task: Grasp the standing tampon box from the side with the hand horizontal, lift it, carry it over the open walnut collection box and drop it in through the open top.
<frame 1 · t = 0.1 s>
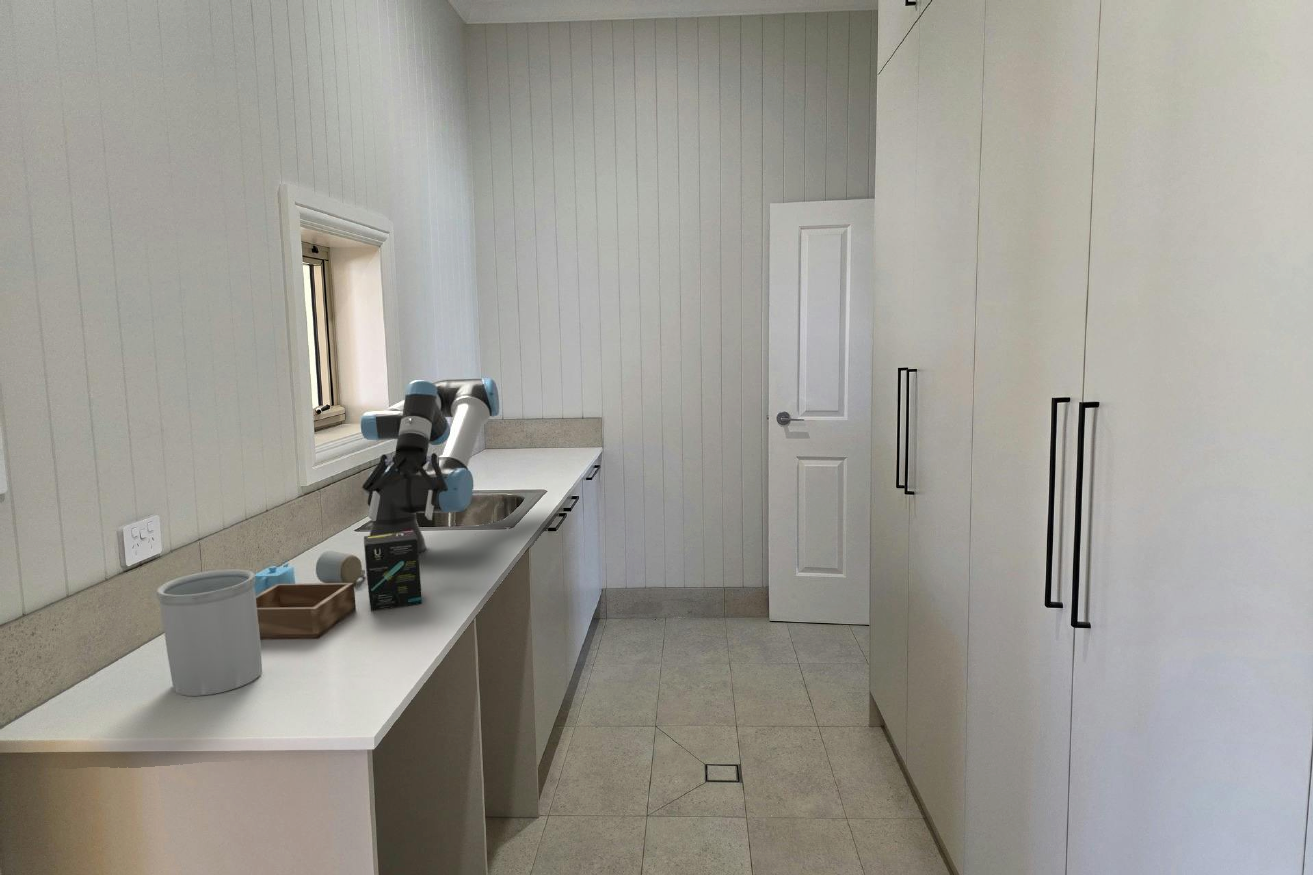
hand: (399, 518, 200), 15 cm above the table, tool tilted 35°, fingers open, 13 cm apart
ceramic mug: (344, 582, 204), on the table
teapot: (277, 598, 193), on the table
tampon box: (395, 602, 187), on the table
collection box: (297, 624, 174), on the table
utensil holder: (217, 681, 146), on the table
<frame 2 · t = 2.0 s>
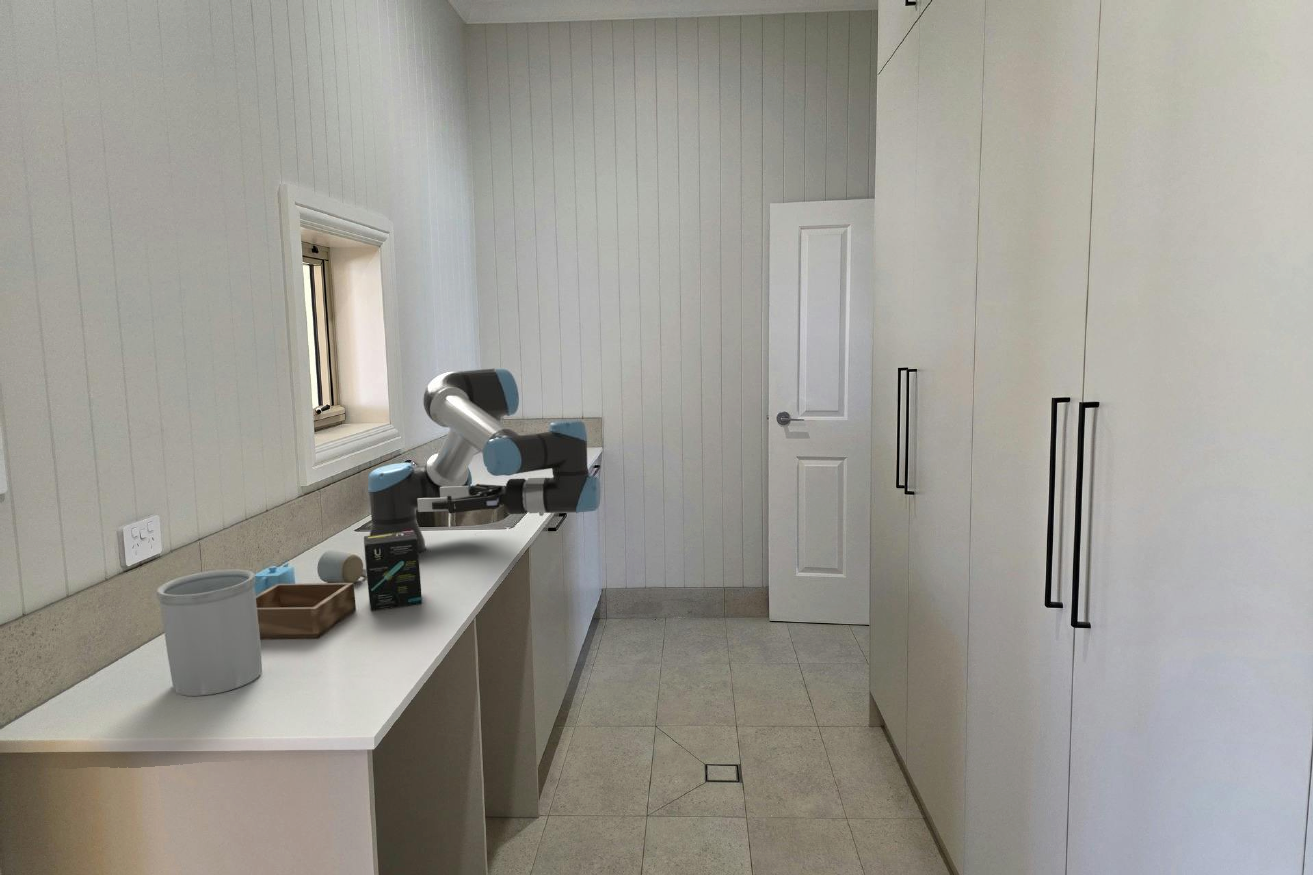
hand: (429, 498, 183), 23 cm above the table, tool horizontal, fingers open, 13 cm apart
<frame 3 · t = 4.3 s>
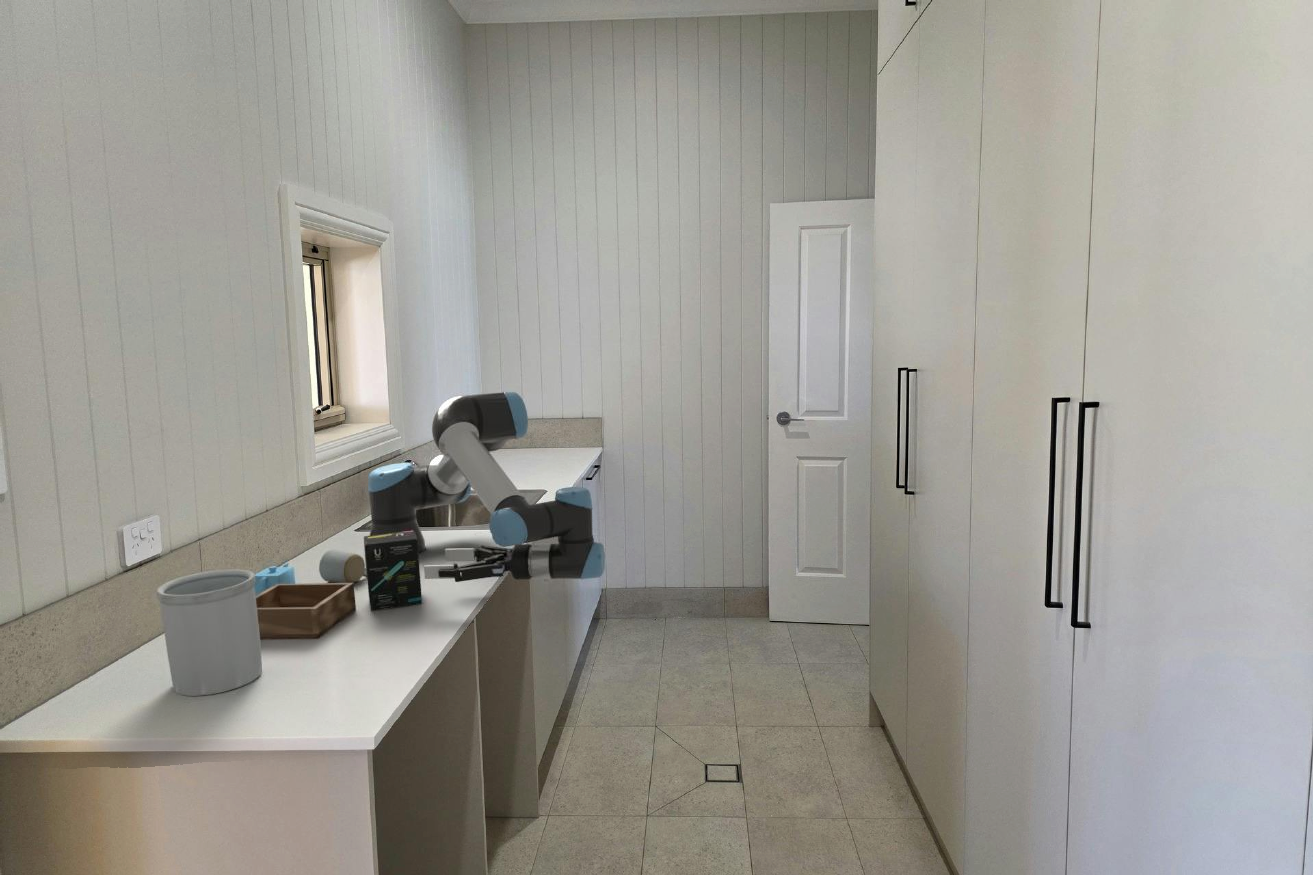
hand: (435, 563, 185), 8 cm above the table, tool horizontal, fingers open, 13 cm apart
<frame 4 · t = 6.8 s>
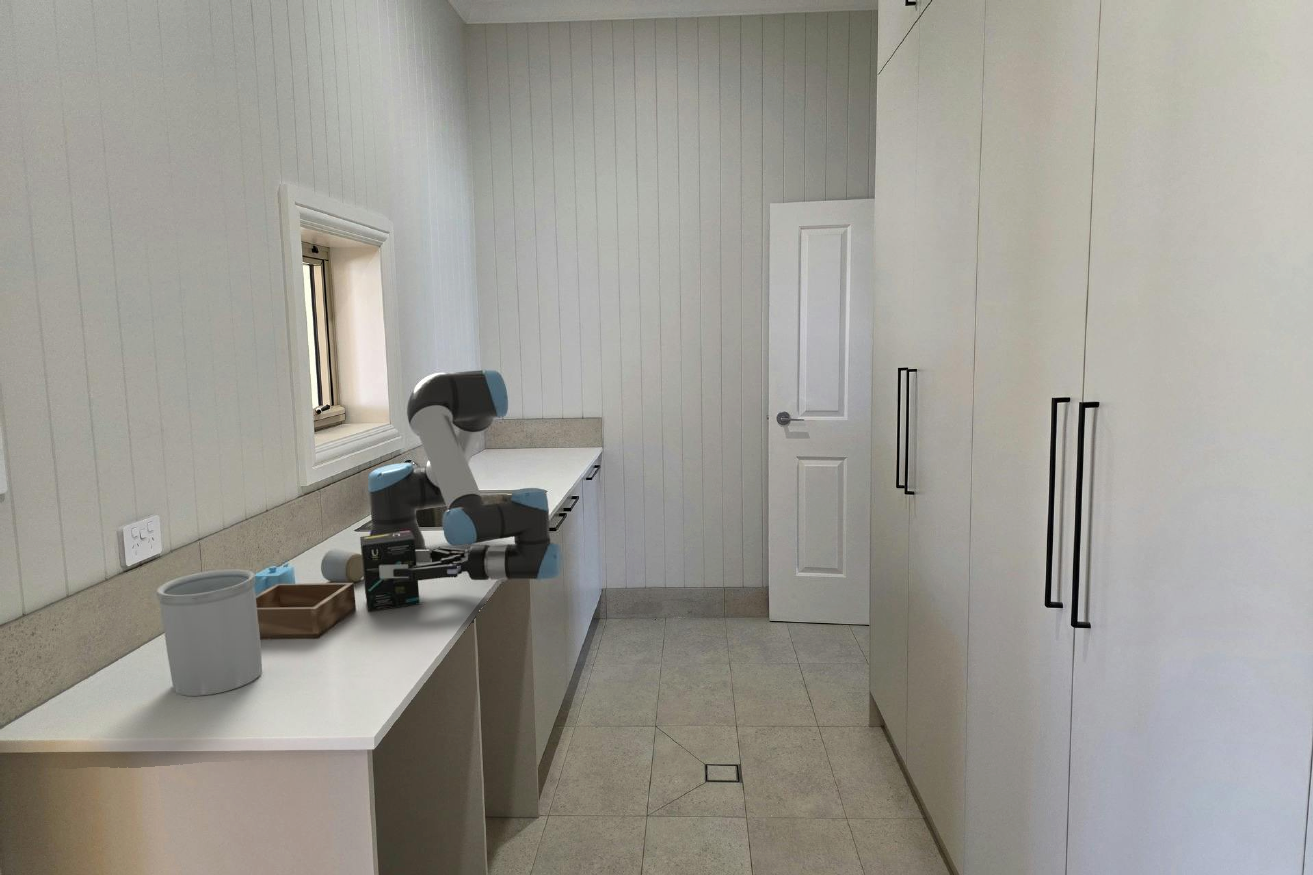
hand: (391, 563, 186), 8 cm above the table, tool horizontal, fingers closed on tampon box, 11 cm apart
tampon box: (392, 603, 186), on the table, touching gripper
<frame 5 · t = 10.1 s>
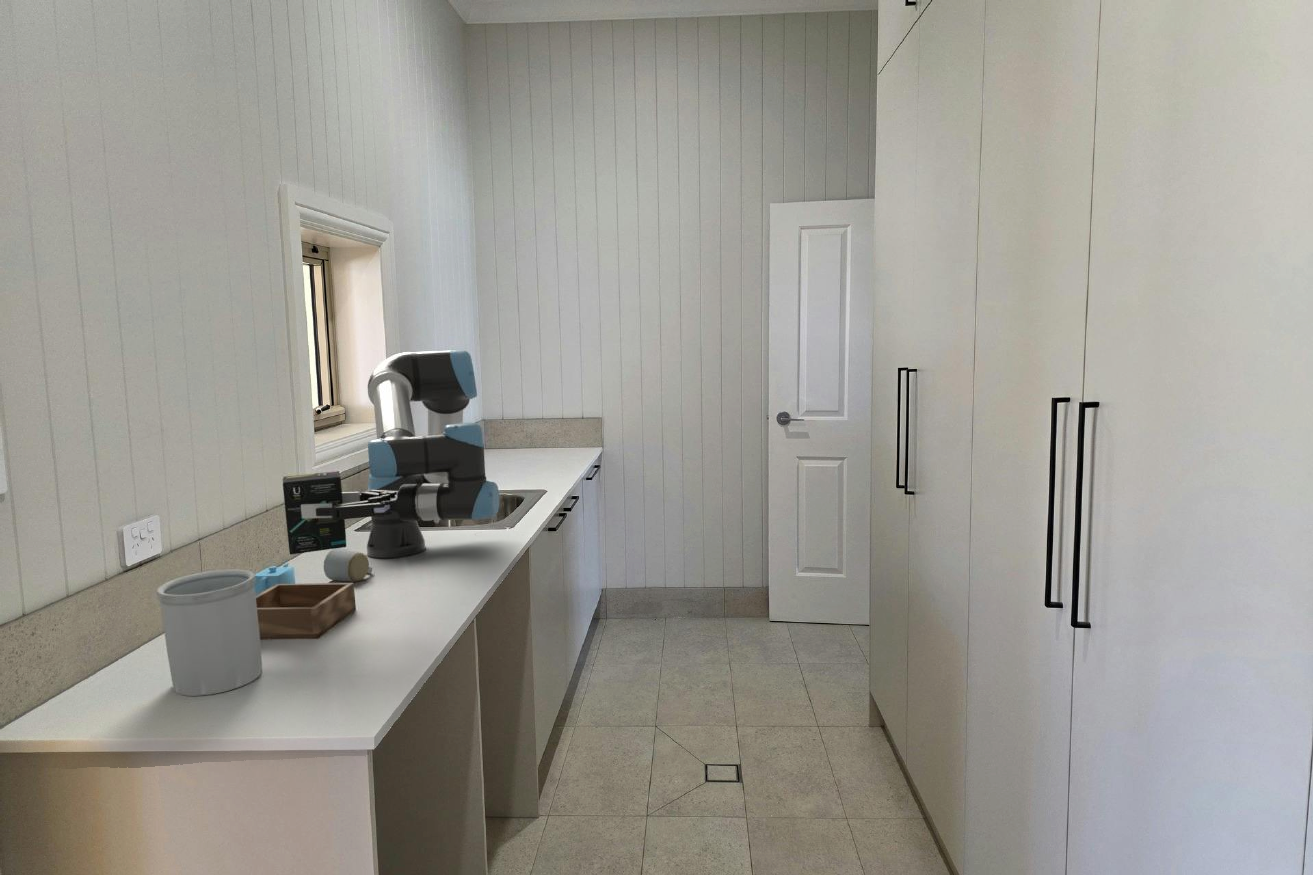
hand: (316, 505, 173), 24 cm above the table, tool horizontal, fingers closed on tampon box, 11 cm apart
tampon box: (318, 547, 174), point 15 cm above the table, touching gripper
when the fingers open (12 cm above the table, at t = 13.4 s): tampon box drops 2 cm, resting on collection box.
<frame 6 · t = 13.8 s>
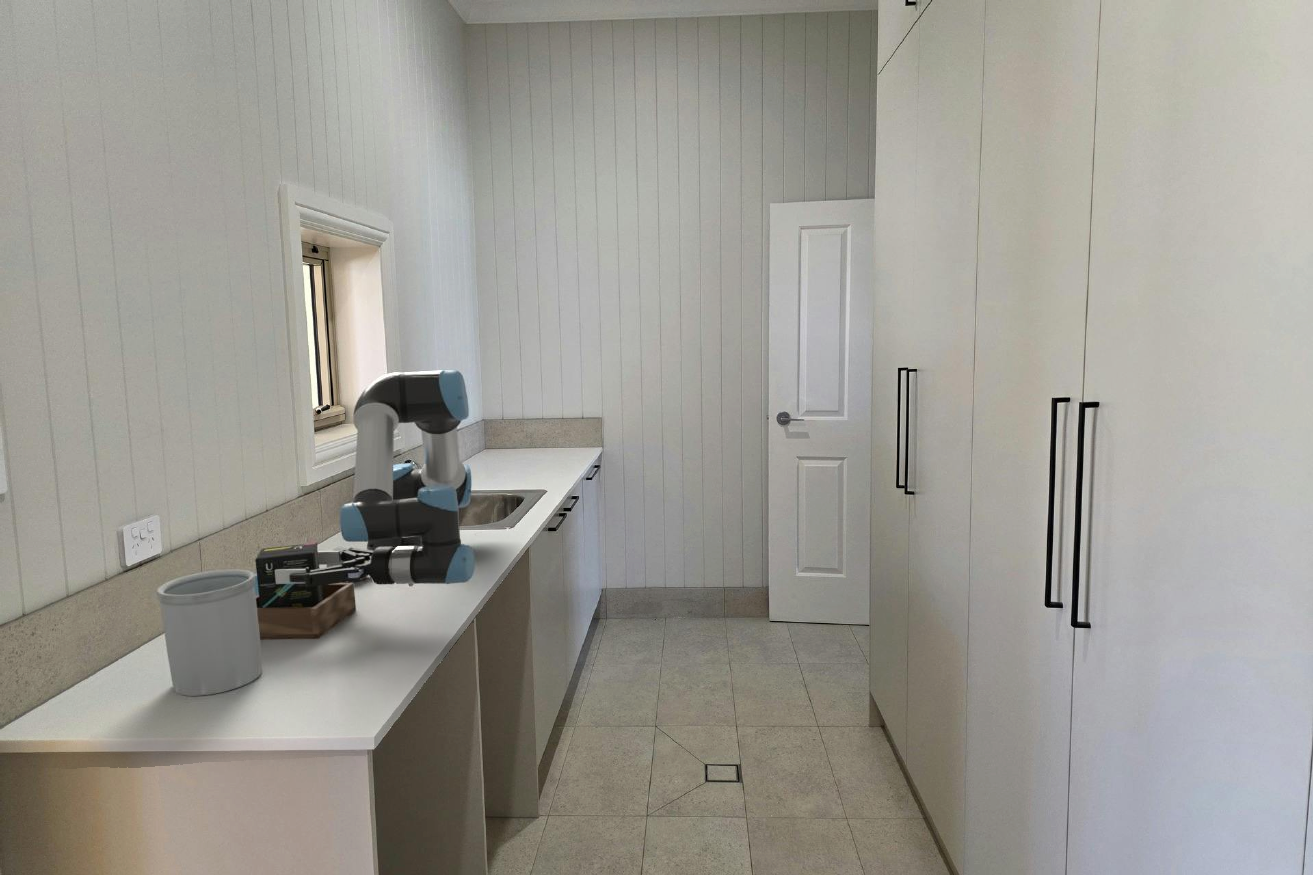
hand: (293, 566, 172), 12 cm above the table, tool horizontal, fingers open, 13 cm apart
tampon box: (294, 620, 174), point 1 cm above the table, touching collection box
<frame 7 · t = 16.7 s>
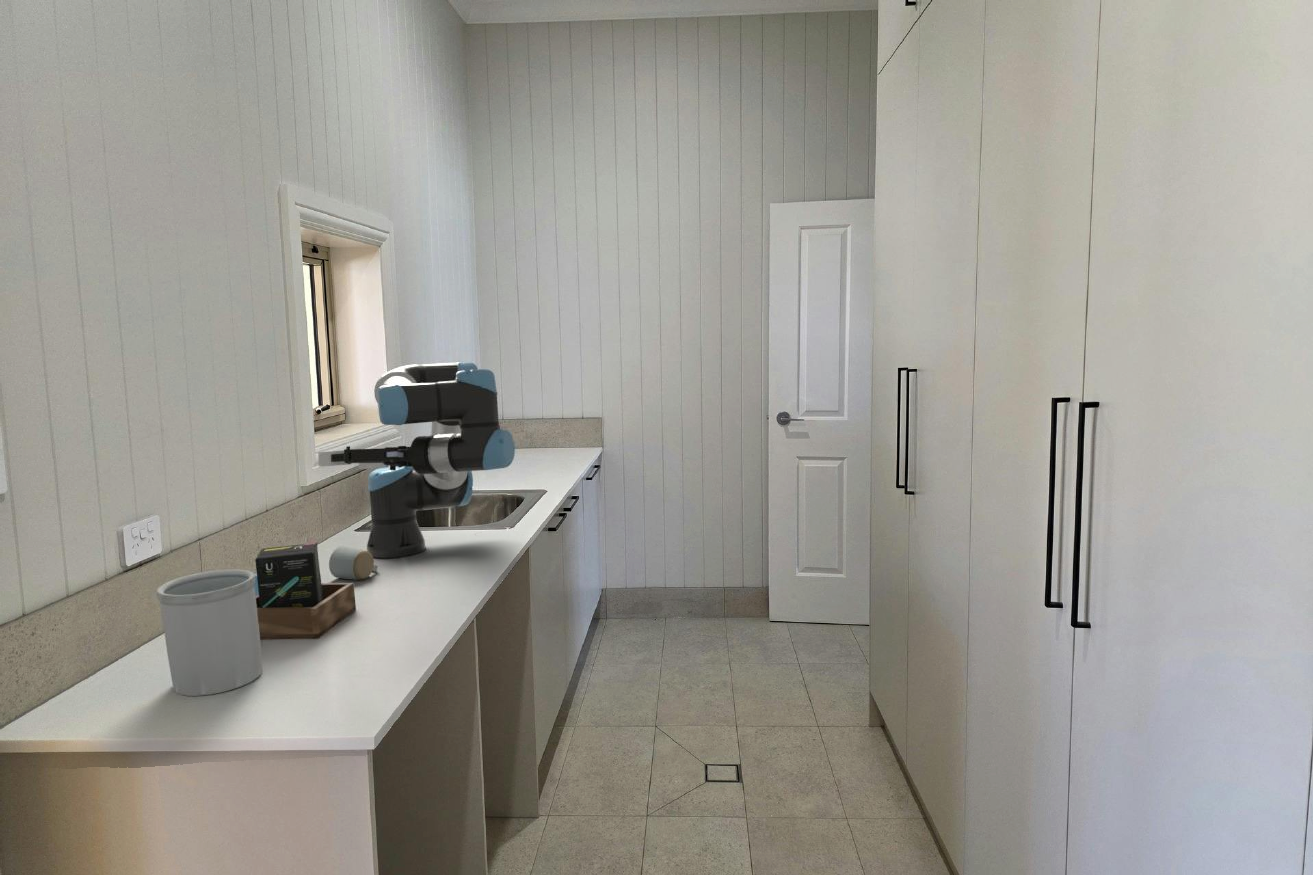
hand: (340, 461, 172), 33 cm above the table, tool horizontal, fingers open, 13 cm apart
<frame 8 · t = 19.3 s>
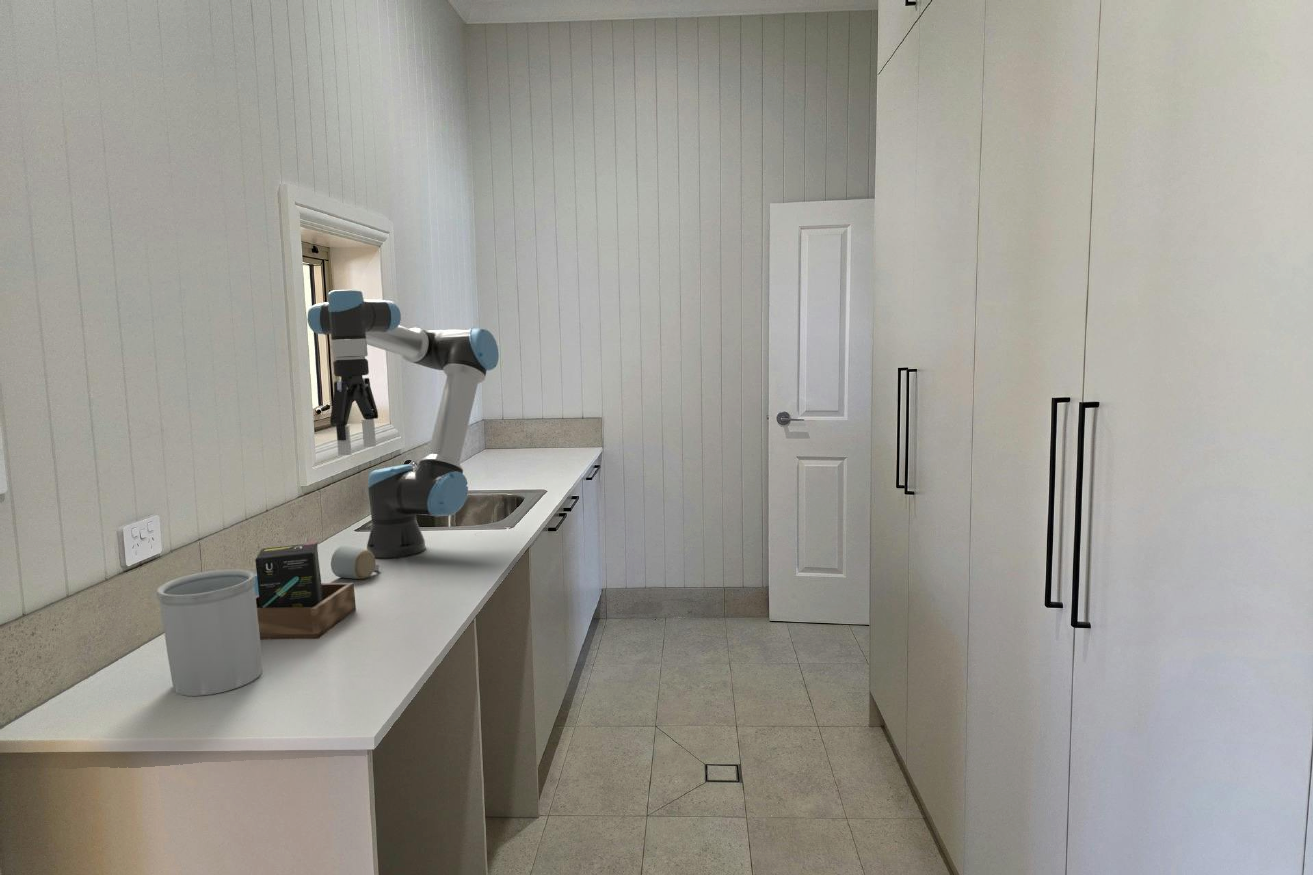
hand: (357, 450, 197), 32 cm above the table, tool pointing down, fingers open, 13 cm apart
at the end: tampon box inside the target area on the collection box (0.7 cm from its centre), point 0.8 cm above the collection box's base; tampon box tilted 0°; the gripper is holding nothing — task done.
